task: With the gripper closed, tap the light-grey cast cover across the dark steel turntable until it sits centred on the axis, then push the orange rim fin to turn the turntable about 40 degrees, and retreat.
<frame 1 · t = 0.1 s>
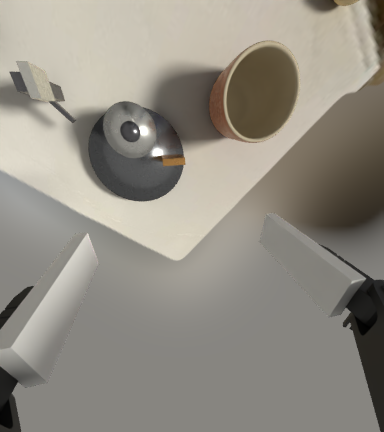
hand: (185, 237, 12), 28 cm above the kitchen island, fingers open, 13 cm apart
cover: (134, 131, 30), point 2 cm above the kitchen island, touching turntable
turntable: (138, 160, 31), point 4 cm above the kitchen island, hinge at 0.0°, touching cover
planter: (232, 106, 34), on the kitchen island
gray post with pin: (56, 93, 28), on the kitchen island
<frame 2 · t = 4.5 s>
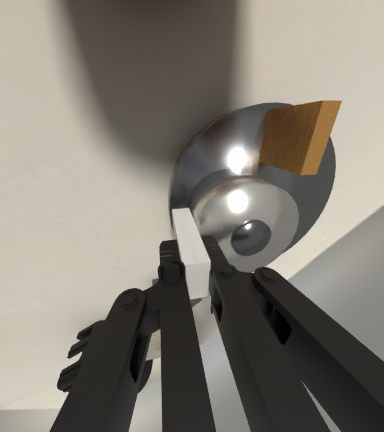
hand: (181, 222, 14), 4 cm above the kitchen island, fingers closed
cover: (224, 208, 17), point 2 cm above the kitchen island, touching gripper, turntable
turntable: (264, 212, 16), point 4 cm above the kitchen island, hinge at 0.1°, touching cover
gray post with pin: (160, 283, 23), on the kitchen island
end cap: (117, 331, 27), on the kitchen island
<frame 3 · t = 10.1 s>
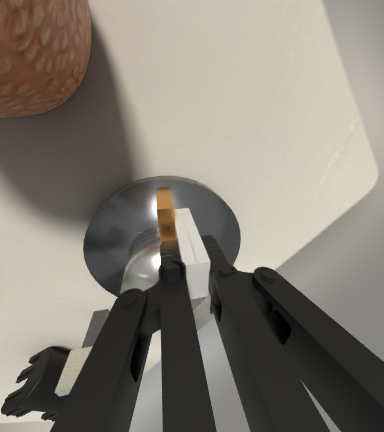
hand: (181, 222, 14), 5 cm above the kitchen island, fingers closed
cover: (164, 255, 19), point 3 cm above the kitchen island, touching turntable
turntable: (170, 264, 18), point 4 cm above the kitchen island, hinge at -0.2°, touching cover, gripper
planter: (8, 16, 11), on the kitchen island
gray post with pin: (102, 314, 25), on the kitchen island
end cap: (70, 355, 29), on the kitchen island
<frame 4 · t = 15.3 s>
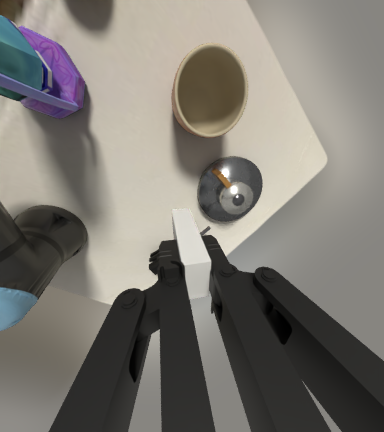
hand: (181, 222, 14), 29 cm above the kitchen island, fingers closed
cover: (229, 193, 44), point 3 cm above the kitchen island, touching turntable
turntable: (233, 194, 43), point 4 cm above the kitchen island, hinge at 41.2°, touching cover
planter: (197, 104, 36), on the kitchen island
lantern: (53, 82, 30), on the kitchen island
gray post with pin: (190, 229, 50), on the kitchen island
end cap: (167, 257, 54), on the kitchen island
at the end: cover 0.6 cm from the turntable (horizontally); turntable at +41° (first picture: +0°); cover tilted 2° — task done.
